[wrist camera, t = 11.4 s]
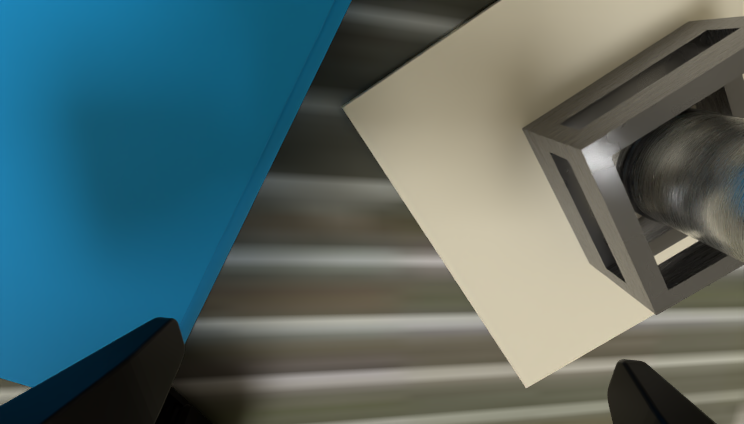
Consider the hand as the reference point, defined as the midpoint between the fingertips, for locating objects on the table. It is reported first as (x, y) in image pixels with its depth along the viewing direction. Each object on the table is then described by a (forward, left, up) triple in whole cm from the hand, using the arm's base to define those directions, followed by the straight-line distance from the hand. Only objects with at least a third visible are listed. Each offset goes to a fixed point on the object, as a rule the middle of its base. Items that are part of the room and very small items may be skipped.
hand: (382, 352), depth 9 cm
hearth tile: (+12, -6, -11) cm, 17 cm away
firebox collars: (+12, -6, -11) cm, 17 cm away
